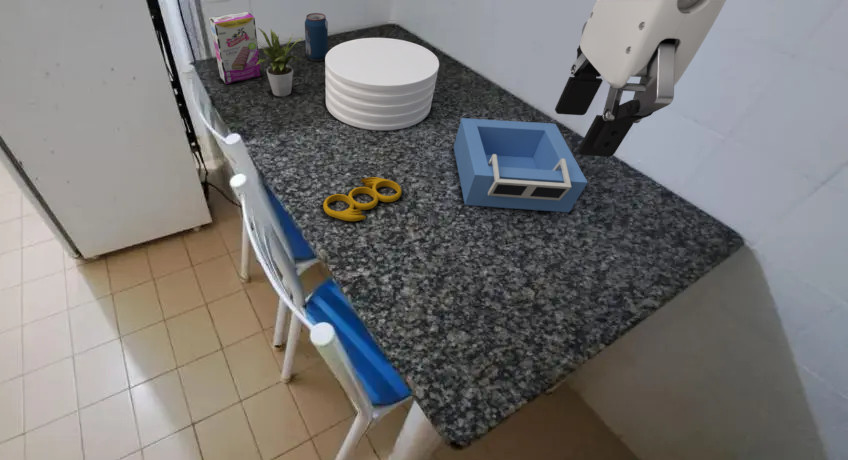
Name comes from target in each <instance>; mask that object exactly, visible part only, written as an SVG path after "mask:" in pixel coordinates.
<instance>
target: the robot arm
mask: <svg viewBox="0 0 848 460" xmlns="http://www.w3.org/2000/svg"><path fill="white" fill-rule="evenodd" d="M726 1H727V0H596V2H595V4H594V6H593V8H592V10H591V13H590V14H589V17H588V19H587V21H586V22H585V23H584V24H583V26H582V30H581V37H580V41H579V45H578V47H577V48H576V60H575V61H574V63H573V64H572V65H571V67H570V71H569V73H570V74H569V75H570V76H569V77H568V79H567V81H566V84H565V86H564V88H563V89H562V92H561V95H560V96H559V99H558V101H557V103H556V105H555V108H554V111H555V114H557V115H568V116H584V115H586V114H587V112H588V110H589V109H590V107H591V104H592V103H593V102H594V101H593V100H594V99H595V97H596V95H597V93H598V91H599V89H600V87H601V85H602V84H603V81H604V80H605V81H606V82H607V84H608V85H609V89H608V92H607V97H606V100H605V104H604V108H603V112H602V114H596V115H595V117H594V119H593V120H592V123H591V124H590V126H589V128H588V130H587V132H586V134H585V135H584V137H583V139H582V141H581V143H580V144H579V146H578V148H577V151H578V153H579V155H581V156H588V157H589V156H593V157H603V158H604V157H605V158H606V157H607V158H610V157H612V156H614V155H615V154H616V153H617V151H618V149H619V148H620V146H621V144H622V142H623V141H624V139H625V138H626V136H627V135H628V133H629V131H630V130H631V128H632V126H633V125H634V124H638V123H640V122H641V121H642V120H643V119H645V118H647V117H650V116H652V115H653V114H654V113H656V112H658V111H660V110H661V109H664V108H666V107H668V106H669V105H671V104H672V103H673V101H674V97H675V87H676V85H677V83H678V82H679V81H680V79H681V78H682V77H683V75H684V74H685V72H686V71H687V69H688V67H689V66H690V64H691V63H692V61H693V59H694V58H695V56H696V54H697V53H698V51H699V49H700V48H701V46H702V44H703V42H704V41H705V39H706V38H707V36H708V34H709V32H710V30H711V29H712V27H713V25H714V24H715V22H716V20H717V19H718V17H719V15H720V13H721V11H722V9H723V7H724V5H725V4H726ZM601 77H602V78H603V79H604V80H603V79H602V78H601ZM631 77H634V78H635V77H636V78H640V79H639V83H635V82H628V81H629V80H630V78H631ZM624 92H634V93H633V98H632V99H629V100H628V101H625V102H623V103H621V100H622V97H623V93H624ZM620 103H621V104H620Z"/></svg>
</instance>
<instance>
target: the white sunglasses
mask: <svg viewBox="0 0 848 460" xmlns="http://www.w3.org/2000/svg"><path fill="white" fill-rule="evenodd" d="M492 165H493V172H494V182H493V184H492V186H491V188H490V189H489V191H488V196H502V197H517V198H531V199H545V200H560V199H561V198H562V197H563V196H564V195H565V194H566V193H567V192H568V190H569V189H570V188H571V182H570V178H569V174H568V169H567V165H566V161H565V159H562V158H561V160H560V161H559V162H558V164H557V165H556V166H555V167H554V169H553V170H555V171H558V170H559V169H560V168H561V169H562V174H563V179H564V183H554V182H540V181H525V180H510V179H500V178H499V170H498V162H497V154H493V155H492V157H491V159H490V161H489V162H488V166H492Z"/></svg>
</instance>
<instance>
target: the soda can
mask: <svg viewBox="0 0 848 460" xmlns="http://www.w3.org/2000/svg"><path fill="white" fill-rule="evenodd" d="M326 17H327V16H326V15H325V14H324V13H319V12H313V13H308V14H307V15H306V17H305V21H304V38H305V54H306V57H307V58H308V59H309V60H311V61H315V62H319V61H323V60H324V61H325V57H326V54H327V53H328V52H329V35H328V34H329V27H328V26H329V25H328V24H329V22H328V20H327V18H326Z"/></svg>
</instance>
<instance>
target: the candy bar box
mask: <svg viewBox="0 0 848 460" xmlns="http://www.w3.org/2000/svg"><path fill="white" fill-rule="evenodd" d="M208 22H209V26H210V27H209V28H210V30H211V36H212V37H211V38H212V42H213V46H214V51H215V52H214V53H215V57H216V61H217V62H216V63H217V67H218V72H219V77H220V79H221V80H222V81H223V82H224V84H225V85H229V84H233V83H238V82H241V81H246V80H250V79H254V78H258V77H259V78H260V77H262V70H261V63H259V64H257V62H258V60H260V59H259V58H260V52H259V45H258V44H259V43H258V37H257V35H258V34H257V27H256V18H255V16H254V15H253V14H251V13H250V12H249V11H243V12H236V13H231V14H224V15H218V16H212V17H208ZM250 39H254V40H250ZM255 40H257V41H255ZM256 42H257V43H256ZM251 56H256V57H251ZM257 57H259V58H257ZM256 64H257V65H256Z"/></svg>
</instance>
